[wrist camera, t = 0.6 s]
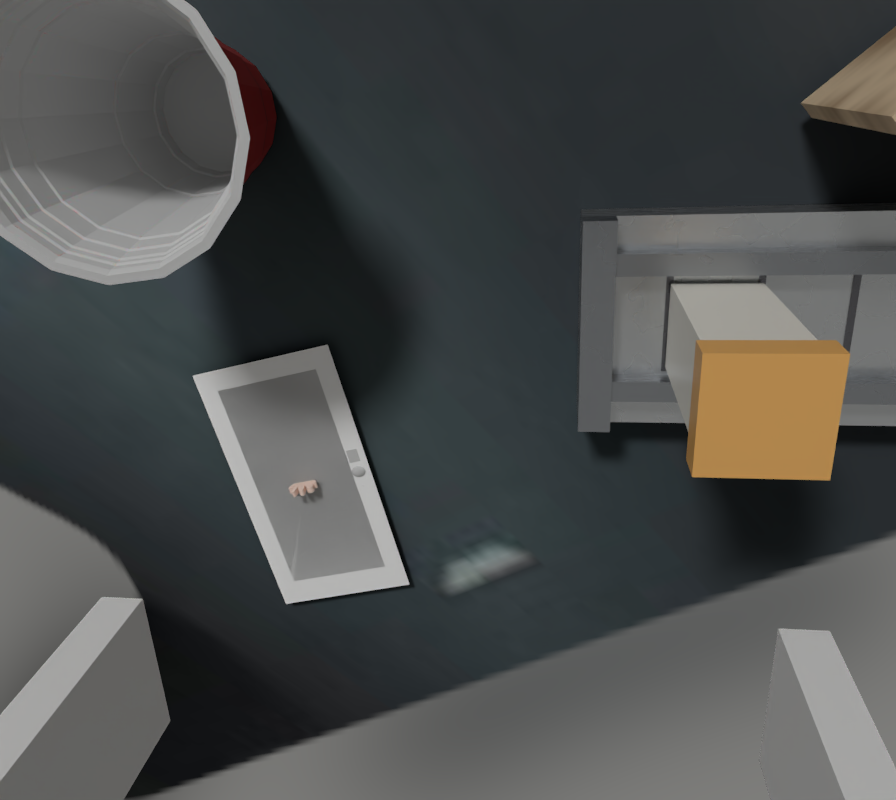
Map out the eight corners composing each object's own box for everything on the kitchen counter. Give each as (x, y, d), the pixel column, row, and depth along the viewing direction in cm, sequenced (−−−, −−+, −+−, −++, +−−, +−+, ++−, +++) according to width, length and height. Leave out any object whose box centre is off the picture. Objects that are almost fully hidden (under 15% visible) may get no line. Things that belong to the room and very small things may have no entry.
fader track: (576, 405, 41) (577, 431, 38) (581, 209, 37) (582, 221, 34) (1086, 411, 38) (1130, 440, 35) (1148, 197, 34) (1203, 209, 31)
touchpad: (291, 592, 49) (280, 615, 47) (200, 368, 44) (183, 383, 42) (412, 573, 47) (406, 595, 45) (333, 337, 42) (321, 351, 40)
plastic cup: (369, 185, 38) (292, 233, 27) (176, 254, 41) (35, 323, 30) (278, -58, 35) (148, -115, 24) (74, 35, 37) (-129, 22, 26)
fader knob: (658, 372, 37) (692, 477, 28) (664, 276, 36) (702, 353, 26) (760, 373, 37) (830, 480, 27) (771, 276, 35) (850, 353, 26)
